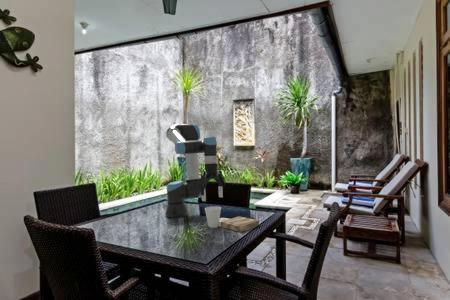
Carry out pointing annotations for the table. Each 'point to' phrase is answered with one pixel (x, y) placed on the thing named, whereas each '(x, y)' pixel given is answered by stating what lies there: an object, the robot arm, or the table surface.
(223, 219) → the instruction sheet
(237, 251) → the table surface
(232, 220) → the plinth block
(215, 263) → the table surface
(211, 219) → the cup
